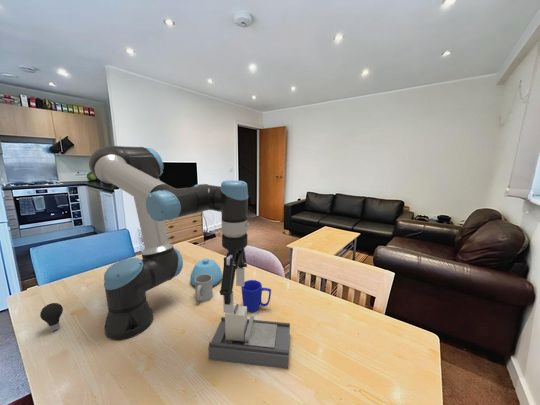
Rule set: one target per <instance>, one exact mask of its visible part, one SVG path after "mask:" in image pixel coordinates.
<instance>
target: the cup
mask: <svg viewBox="0 0 540 405" xmlns="http://www.w3.org/2000/svg"><path fill="white" fill-rule="evenodd" d="M194 290H195V293H194V294H195V299H196V300H197V301H198V302H202V303H203V302H208V301H209V300H211V299H212V297H213V295H214V294H213V286H212V276H211V275H208V274H202V275H199V276H197V277H196V278H195V286H194Z"/></svg>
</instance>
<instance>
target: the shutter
mask: <svg viewBox="0 0 540 405" xmlns="http://www.w3.org/2000/svg"><path fill="white" fill-rule="evenodd" d="M249 319H250V320H249V323H248V327H247V330H246V333H245V346H252V347H262V348H271V349H274V348H275V340H276V331H277V324H266V323H255V322H254V320H255V315H250V317H249Z"/></svg>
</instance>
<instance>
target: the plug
mask: <svg viewBox="0 0 540 405" xmlns="http://www.w3.org/2000/svg"><path fill="white" fill-rule="evenodd" d="M224 317H225V336H226V340H229V344H232V341H233V340H236V341H244V340H245V333H246V330H247V319H248V311H247V306H243V305H239V303H236V305H235V304H234V312H233V313H224Z"/></svg>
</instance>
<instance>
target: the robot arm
mask: <svg viewBox="0 0 540 405" xmlns="http://www.w3.org/2000/svg"><path fill="white" fill-rule="evenodd" d="M88 159H89V160H88V167H89V170H90V172H91V174H92V176H94V177H95V178H96V179H98V180H100V181H101V182H103V183H105V184H112V185H114V186H115V187H117V188H119V189H120V190H122V191H124V192H125V193H127V194H129V196H132V197H133V200H134V204H135V209H136V213H137V219H138V223H139V228H140V232H141V236H142V241H143V246H144V249H143V250H142V251H141V258H142V259H141V258H138V257H130V258H125V259H121V260H119V261H117V262H115V263H113V264H112V265H111V266H109V267H108V268H107V269H106V270H105V272H104V274H103V287H104V289H105V290H104V291H105V298H106V303H107V304H106V305H107V314H106V318H105V323H104V327H103V328H104V334H105V337H106V338H107V339H109V340H114V341H121V340H126V339H130V338H133V337H135V336H137V335H140V333H142V332H144V331H145V330H147V329H148V328H149V327H150V326H151V325H152V323H153V321H154V311H153V309H152V307H151V306H150V304H149V301H148V299H147V292H148V291H149V290H151V289H154V288H156V287H159V286H160V285H162V284H164V283H166V282H169V281H171V280H172V279H174V278H176V277H177V276H179V275H180V273H181V271H182V270H183V268H184V266H183V265H184V261H183V256H182V254H181V253H180V250H179V249H177V248H175V247H174V245H173V244H172V243H170V242H169V239H168V235H167V228H166V225H165V221H172V220H175V219H178V218H181V217H185V216H190V215H194V214H197V213H202V212H206V211H215V212H220V213H221V246H222V248H224V249H225V250H227V252H226V256H225V257H224V258H223V269H222V278H221V283H220V285H221V286H220V290H219V294H220V296H223V297H222V298H223V300H222V301H223V308H222V309H223V313H224V314H225V313H233V312H234V305H235V304H234V300H235V299H234V291H233V290H234V283H235V282H236V283H235V286H237V287H241V286H244V282H245V272H246V271H245V268H247V267H248V264H247V258H246V251H245V248H246V247H247V246H248V227H249V226H250V223H249V222H248V217H249V216H248V206H249V205H248V204H249V192H248V190H249V189H248V183H247V182H245V181H244V180H232V179H231V180H223V181H222V182H221V183H220V186H219V185H212V184H207V183H202V184H200V183H198V184H195V185H193V186H191V187H181V188H176V187H173V186H172V185H169V184H167V183H166V182H163V181H162V180H160V179H161V178H160V177H161V176H162V174H163V173H164V171H163V170H164V162H163V159H162V157H161V155H160V154H159V152H158V151H156V150H155V149H153V148H151V147H144V146H122V145H119V146H118V145H108V146H107V145H106V146H103V147H100V148H98V149H96V150H95V151H93V153H91V155H90V158H88ZM235 277H236V278H235Z"/></svg>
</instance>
